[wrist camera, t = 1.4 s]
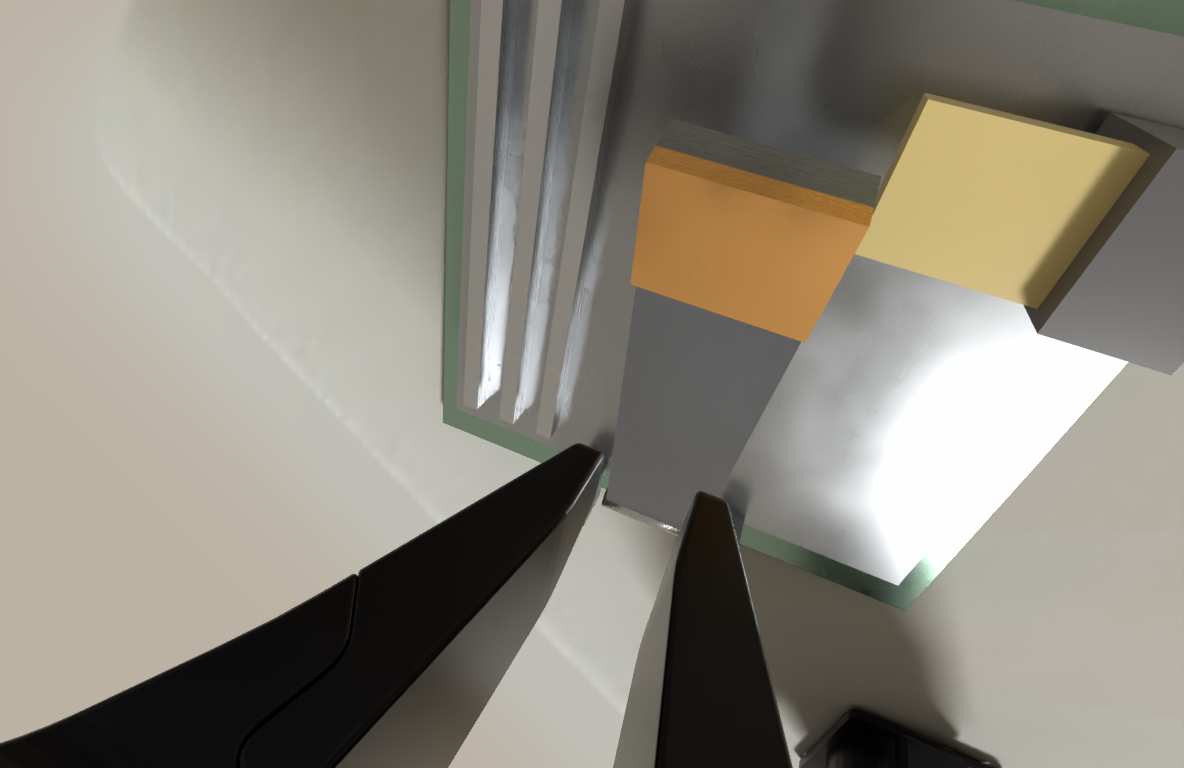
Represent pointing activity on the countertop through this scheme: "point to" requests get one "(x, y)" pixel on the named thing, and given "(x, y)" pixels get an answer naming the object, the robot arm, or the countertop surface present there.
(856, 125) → the heatsink
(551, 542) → the robot arm
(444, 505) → the countertop surface
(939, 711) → the countertop surface
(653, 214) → the grey and orange bar
